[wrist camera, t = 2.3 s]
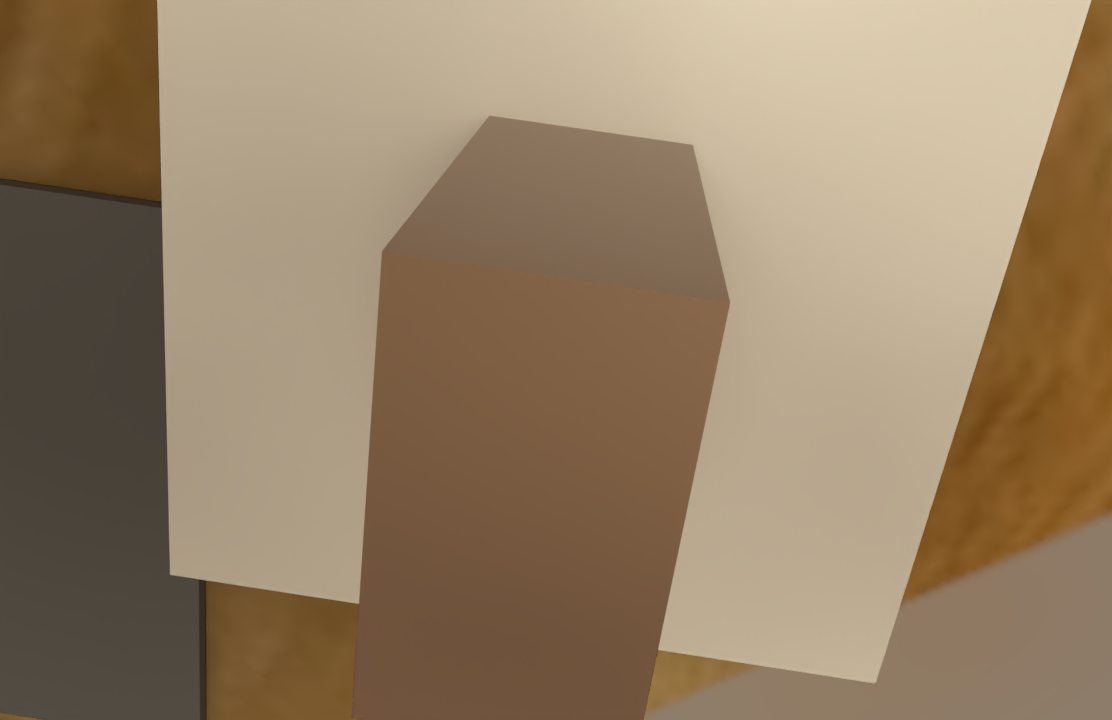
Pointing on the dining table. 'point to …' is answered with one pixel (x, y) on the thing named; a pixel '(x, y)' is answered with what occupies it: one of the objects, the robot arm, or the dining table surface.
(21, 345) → the mat
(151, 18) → the dining table surface
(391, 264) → the lid
